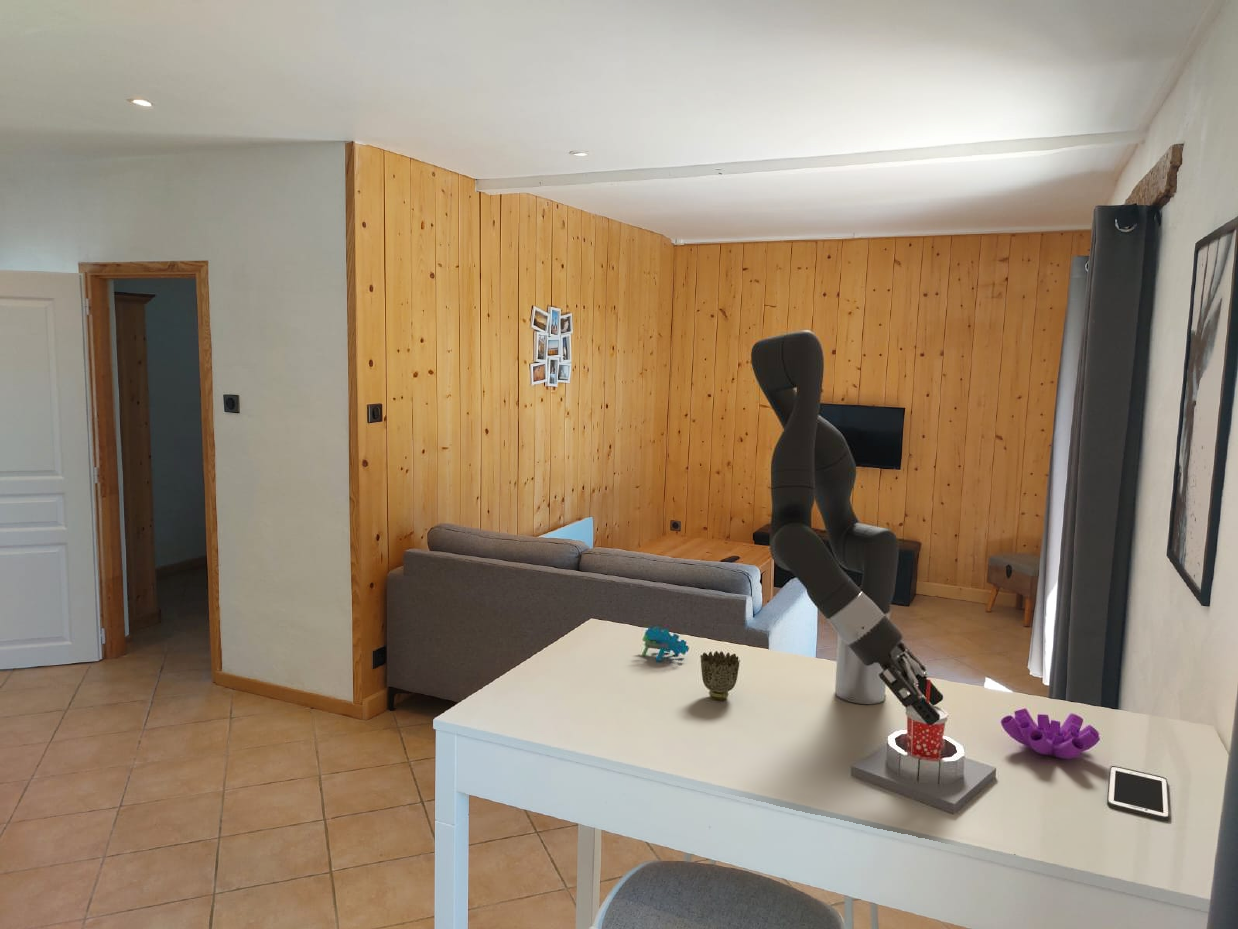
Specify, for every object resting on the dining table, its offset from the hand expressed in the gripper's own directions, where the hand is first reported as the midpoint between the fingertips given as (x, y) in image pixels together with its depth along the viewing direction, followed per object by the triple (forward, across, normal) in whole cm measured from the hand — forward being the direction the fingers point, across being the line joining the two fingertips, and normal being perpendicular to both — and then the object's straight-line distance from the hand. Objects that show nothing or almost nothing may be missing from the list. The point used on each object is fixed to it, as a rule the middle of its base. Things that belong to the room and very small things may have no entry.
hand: (937, 711), depth 130 cm
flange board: (+7, 0, +8) cm, 11 cm away
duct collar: (+6, 0, +7) cm, 9 cm away
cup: (-20, +16, +35) cm, 44 cm away
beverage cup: (+6, 0, +8) cm, 9 cm away
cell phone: (+28, +9, -12) cm, 32 cm away
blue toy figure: (-32, +33, +48) cm, 66 cm away
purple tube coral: (+20, +18, -4) cm, 27 cm away
